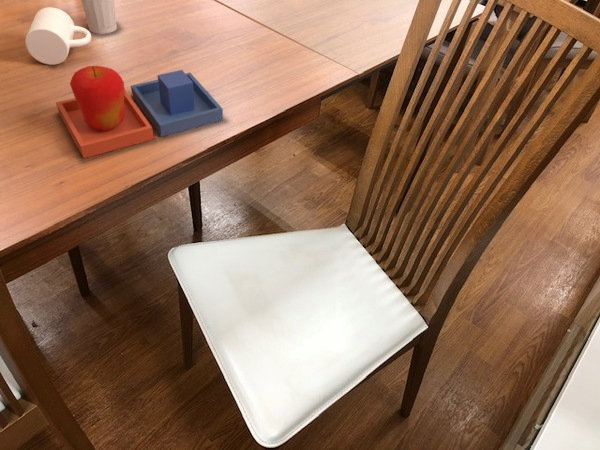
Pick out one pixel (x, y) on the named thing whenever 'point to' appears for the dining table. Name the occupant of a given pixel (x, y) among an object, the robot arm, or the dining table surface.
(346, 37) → the dining table surface
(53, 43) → the mug
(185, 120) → the blue tray
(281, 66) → the dining table surface
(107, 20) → the cup
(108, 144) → the red tray
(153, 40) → the dining table surface
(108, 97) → the apple
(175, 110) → the block
